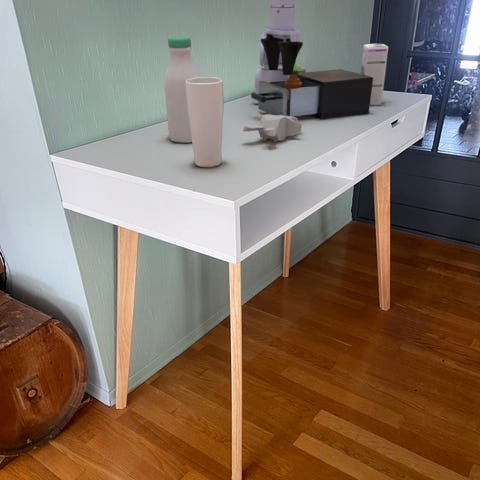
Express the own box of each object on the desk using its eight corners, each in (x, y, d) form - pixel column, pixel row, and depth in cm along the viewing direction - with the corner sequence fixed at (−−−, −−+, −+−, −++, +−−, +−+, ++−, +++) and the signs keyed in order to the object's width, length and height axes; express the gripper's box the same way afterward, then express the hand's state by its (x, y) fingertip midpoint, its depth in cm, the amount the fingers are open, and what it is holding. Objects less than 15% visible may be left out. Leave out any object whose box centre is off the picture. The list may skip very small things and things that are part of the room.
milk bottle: (198, 144, 109) (192, 39, 98) (164, 142, 111) (154, 39, 99) (207, 134, 115) (202, 35, 104) (175, 133, 117) (167, 35, 105)
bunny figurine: (311, 115, 112) (276, 121, 102) (308, 139, 115) (274, 147, 104) (275, 110, 117) (238, 115, 106) (273, 133, 120) (237, 140, 109)
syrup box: (381, 105, 138) (390, 45, 130) (360, 105, 138) (367, 46, 130) (377, 101, 143) (385, 43, 135) (356, 101, 143) (363, 43, 135)
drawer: (267, 121, 121) (268, 91, 117) (244, 110, 131) (244, 82, 127) (329, 114, 127) (331, 84, 123) (302, 103, 137) (304, 76, 133)
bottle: (281, 108, 128) (282, 71, 123) (286, 104, 131) (287, 68, 127) (298, 109, 127) (300, 72, 122) (302, 105, 130) (304, 69, 125)
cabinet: (320, 119, 126) (323, 82, 121) (292, 107, 137) (294, 73, 132) (368, 113, 131) (373, 77, 126) (337, 102, 142) (340, 69, 137)
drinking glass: (225, 158, 101) (223, 76, 92) (225, 169, 95) (223, 83, 87) (191, 159, 101) (186, 77, 92) (189, 170, 95) (183, 84, 87)
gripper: (253, 6, 119) (253, 69, 127) (281, 9, 108) (279, 78, 116) (279, 5, 122) (277, 67, 129) (309, 8, 111) (305, 75, 119)
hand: (280, 72), depth 123 cm, fingers open, 7 cm apart
